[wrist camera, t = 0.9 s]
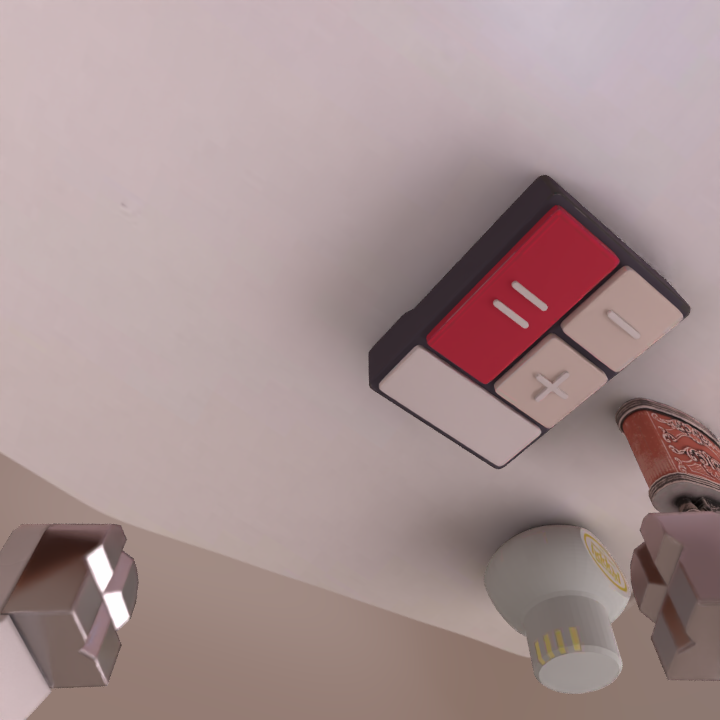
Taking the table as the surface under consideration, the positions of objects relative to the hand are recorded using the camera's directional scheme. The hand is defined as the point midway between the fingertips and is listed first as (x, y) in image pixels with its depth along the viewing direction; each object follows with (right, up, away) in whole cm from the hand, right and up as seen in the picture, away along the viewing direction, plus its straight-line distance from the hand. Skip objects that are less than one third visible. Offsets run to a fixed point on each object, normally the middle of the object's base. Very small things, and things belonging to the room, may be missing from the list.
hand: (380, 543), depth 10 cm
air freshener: (+15, -12, +41) cm, 46 cm away
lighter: (+20, -2, +34) cm, 39 cm away
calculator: (+9, +5, +29) cm, 31 cm away
